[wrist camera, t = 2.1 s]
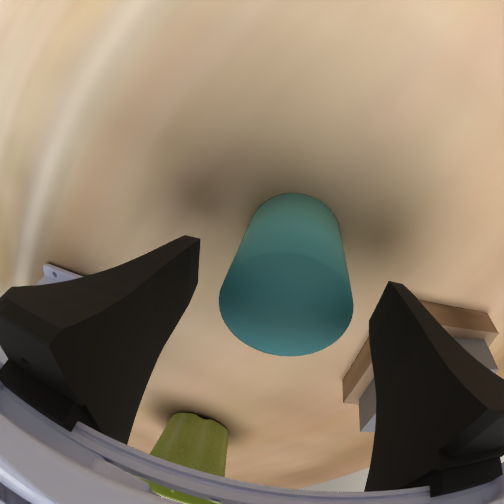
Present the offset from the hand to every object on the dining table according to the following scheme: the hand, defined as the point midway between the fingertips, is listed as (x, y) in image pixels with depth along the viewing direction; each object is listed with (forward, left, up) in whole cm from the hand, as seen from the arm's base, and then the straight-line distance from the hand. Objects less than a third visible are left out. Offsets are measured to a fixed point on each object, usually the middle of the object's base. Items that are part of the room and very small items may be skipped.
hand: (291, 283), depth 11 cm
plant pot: (-4, -23, -4) cm, 24 cm away
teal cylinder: (0, 0, -4) cm, 4 cm away
